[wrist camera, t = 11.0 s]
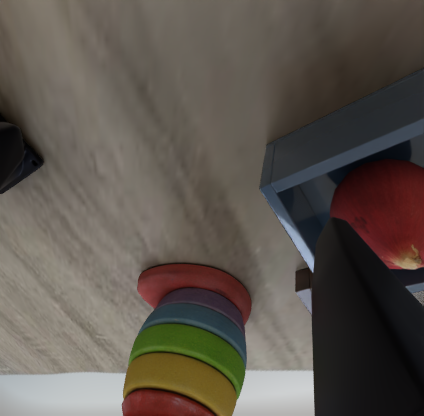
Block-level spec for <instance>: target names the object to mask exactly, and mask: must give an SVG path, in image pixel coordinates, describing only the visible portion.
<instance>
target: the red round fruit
mask: <svg viewBox="0 0 424 416" xmlns="http://www.w3.org/2000/svg"><path fill="white" fill-rule="evenodd" d="M330 217H336V218H339V219H343V220H346V221H347V222H348V223H349V224H350V225H351V226H352V228H353V229H354V230H355V231H356V232H357V233H358V234H359V235H360V237H361V238H362V239H363V240H364V241H365V242H366V243H367V244H368V245H369V247H370V248H371V249H372V250H373V251H374V252H375V253H376V254H377V256H378V257H379V258H380V259H381V260H382V261H383V262H384V263H385V264H386V266H387V267H388V268H389V269H408V270H409V269H418V268H420V267H424V168H423V167H421V166H419V165H416V164H414V163H412V162H410V161H405V160H394V159H382V160H378V161H373V162H369V163H365V164H363V165H361V166H359V167H358V168H356V169H354V170H352V171H351V172H349V173H348V174H347V175H346V176H345V178H344V179H343V180H342V181H341V183H340V184H339V185H338V186H337V187H336V189H335V191H334V195H333V198H332V202H331V206H330Z"/></svg>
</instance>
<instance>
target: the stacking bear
mask: <svg viewBox="0 0 424 416" xmlns="http://www.w3.org/2000/svg"><path fill="white" fill-rule="evenodd" d="M137 290H138V292H139V294H140V295H141V296H142V297H143V299H144V300H145V301H146V302H147V303H149V304H150V305H151V306H152V307H153V308H155V309H154V311H153V312H152V313H151V314H150V315H149V317H148V318H147V319H146V321H145V322H144V324H143V326H142V327H141V329H140V331H139V333H138V336H137V338H136V339H135V342H134V344H133V348H132V351H131V354H130V358H129V365H128V366H129V367H128V369H127V373H126V378H125V384H124V390H123V398H124V401H123V403H122V411H123V416H232V414H233V411H234V408H235V405H236V401H237V399H238V398H239V395H240V392H241V389H242V385H243V382H244V377H245V369H246V359H247V357H246V342H245V328H244V325H245V324H246V322H247V320H248V318H249V315H250V312H251V299H250V296H249V294H248V292H247V291H246V289H245V288H244V287H243V286H242V284H241V283H239V282H238V281H237V280H236V279H235V278H233V277H232V276H230V275H228V274H226V273H224V272H222V271H220V270H217V269H214V268H210V267H205V266H199V265H190V264H170V265H163V266H158V267H154V268H151V269H149V270H146V271H144V272H143V273H141V274H140V276H139V279H138V287H137Z"/></svg>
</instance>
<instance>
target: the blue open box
mask: <svg viewBox="0 0 424 416" xmlns="http://www.w3.org/2000/svg"><path fill="white" fill-rule="evenodd" d="M382 159H394V160H405V161H410V162H412V163H414V164H416V165H419V166H421V167H423V168H424V68H423V69H421V70H418V71H416V72H414V73H412V74H410V75H408V76H406V77H404V78H402V79H400V80H398V81H396V82H394V83H392V84H390V85H388V86H386V87H384V88H382V89H380V90H377V91H375V92H373V93H371V94H369V95H367V96H365V97H363V98H361V99H359V100H357V101H355V102H353V103H351V104H349V105H347V106H345V107H343V108H341V109H339V110H337V111H334V112H332V113H330V114H328V115H326V116H324V117H322V118H320V119H318V120H316V121H314V122H312V123H310V124H308V125H306V126H304V127H302V128H300V129H298V130H296V131H293V132H291V133H289V134H287V135H285V136H283V137H281V138H279V139H277V140H275V141H273V142H271V143H269V144H267V145H266V151H265V157H264V163H263V169H262V174H261V180H260V186H259V189H260V191H261V192H262V194H263V195H264V197H265V199H266V200H267V202H268V203H269V205H270V206H271V208H272V210H273V211H274V213H275V214H276V216H277V218H278V219H279V221H280V222H281V224H282V225H283V227H284V229H285V230H286V232H287V233H288V235H289V236H290V238H291V240H292V241H293V243H294V244H295V246H296V248H297V249H298V251H299V252H300V254H301V255H302V257H303V259H304V260H305V262H306V263H307V265H308V266H309V268H310V270H311V271H312V273H313V269H314V259H315V249H316V243H317V240H318V238H319V236H320V234H321V232H322V230H323V228H324V227H325V225H326V223H327V221H328V220H329V219H330V218H331V217H330V206H331V202H332V198H333V195H334V191H335V189H336V187H337V186H338V185H339V184H340V183H341V181H342V180H343V179H344V178H345V176H346V175H347V174H348V173H349V172H351V171H352V170H354V169H356V168H358V167H359V166H361V165H363V164H365V163H369V162H373V161H378V160H382ZM390 270H391V271H392V272H393V273H394V275H395V276H396V277H397V278H398V279H399V280H400V281H401V282H402V283H403V285H404V286H405V287H406V288H407V289H408V290H409V291H410V292H411V293H414V292H419V291H424V267H420V268H418V269H409V270H408V269H390Z"/></svg>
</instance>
